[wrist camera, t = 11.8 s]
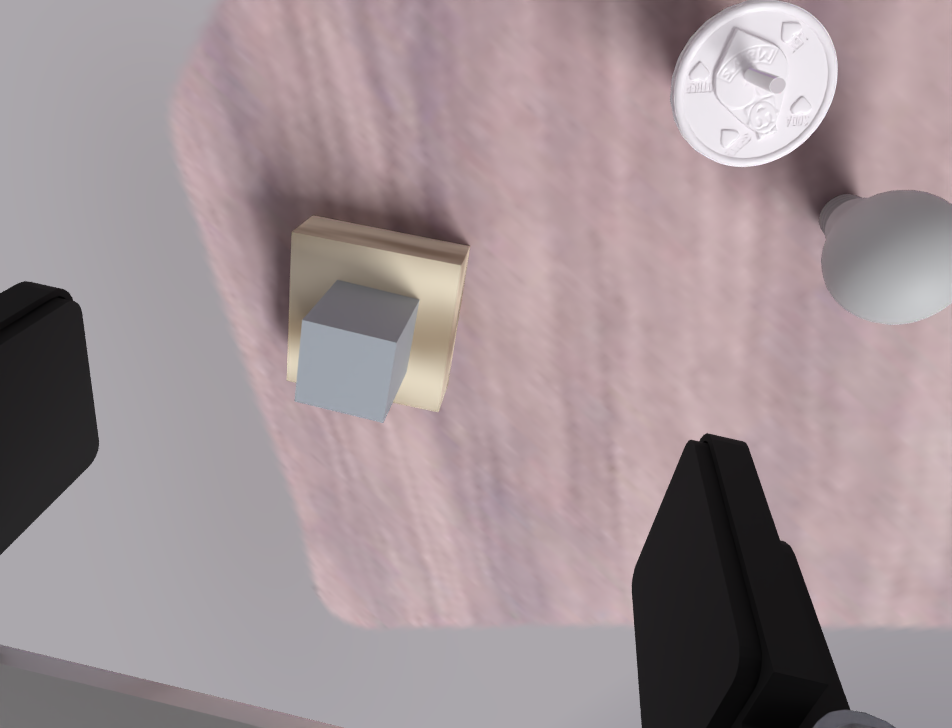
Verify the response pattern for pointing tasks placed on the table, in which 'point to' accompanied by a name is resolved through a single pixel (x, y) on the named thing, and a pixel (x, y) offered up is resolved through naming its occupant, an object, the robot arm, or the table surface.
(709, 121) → the smoothie
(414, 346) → the maple block
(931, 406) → the table surface
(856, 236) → the lightbulb
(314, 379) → the grey block
